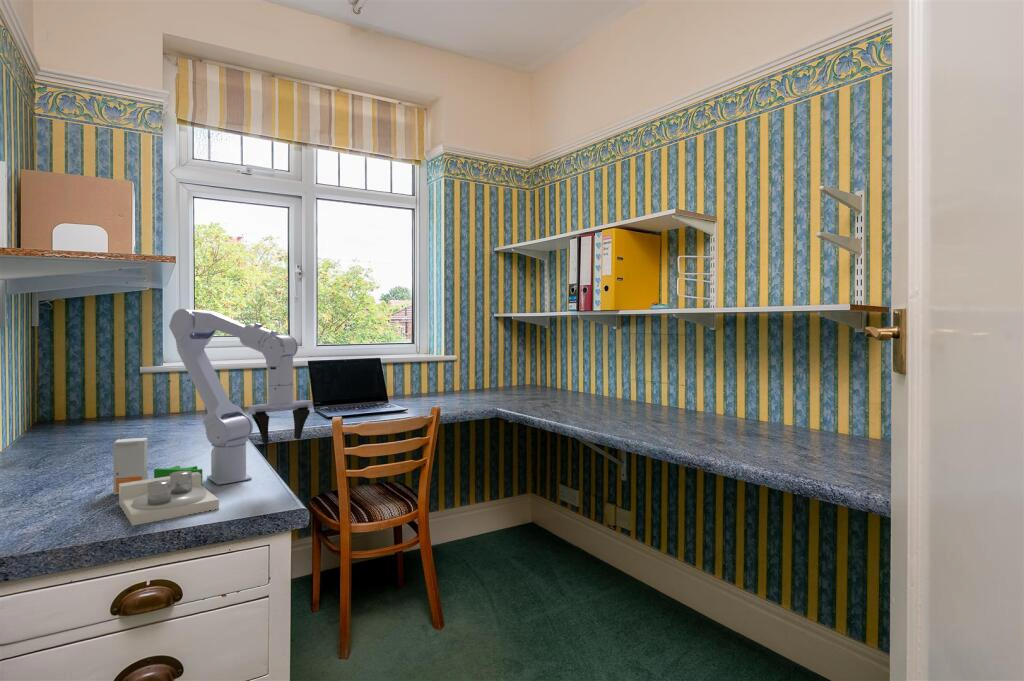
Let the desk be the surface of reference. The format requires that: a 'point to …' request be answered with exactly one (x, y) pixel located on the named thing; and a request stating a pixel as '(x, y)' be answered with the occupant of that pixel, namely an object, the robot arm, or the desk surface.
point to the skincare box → (129, 461)
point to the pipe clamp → (167, 471)
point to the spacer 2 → (181, 482)
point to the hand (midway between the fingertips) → (281, 440)
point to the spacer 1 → (159, 492)
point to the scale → (180, 505)
